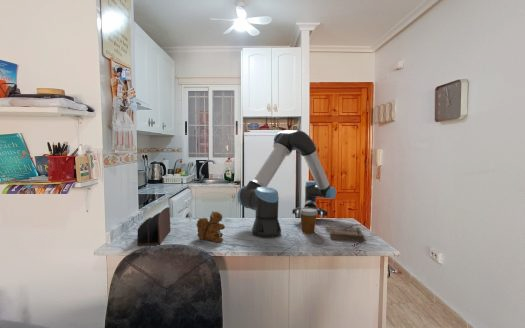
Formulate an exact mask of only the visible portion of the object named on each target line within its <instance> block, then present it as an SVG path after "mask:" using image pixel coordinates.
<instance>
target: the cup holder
mask: <svg viewBox="0 0 525 328" xmlns="http://www.w3.org/2000/svg"><path fill="white" fill-rule="evenodd" d="M328 231H329V236H330V237H329V238H330V240H336V241H337V240H340V241H352V242H364V239H365V238H364V234H363V233H362V230H361V228H360V227H356V229H355V230H354V229H344V228H343V229H341V228H333V227H332V225H329V226H328Z"/></svg>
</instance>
